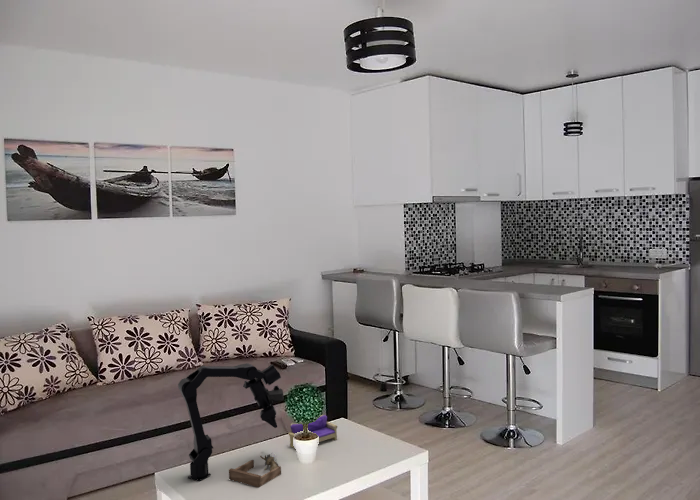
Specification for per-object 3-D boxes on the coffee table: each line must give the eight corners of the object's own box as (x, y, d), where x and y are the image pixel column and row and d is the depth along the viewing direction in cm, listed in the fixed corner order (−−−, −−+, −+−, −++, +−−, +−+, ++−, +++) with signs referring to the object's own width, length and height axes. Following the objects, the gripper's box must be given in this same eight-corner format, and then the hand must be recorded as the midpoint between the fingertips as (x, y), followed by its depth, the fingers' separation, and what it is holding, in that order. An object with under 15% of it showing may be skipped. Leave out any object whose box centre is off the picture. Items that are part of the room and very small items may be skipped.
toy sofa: (299, 452, 264) (298, 429, 264) (288, 447, 271) (287, 424, 271) (338, 440, 277) (337, 417, 277) (327, 435, 284) (326, 413, 283)
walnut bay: (258, 487, 231) (258, 477, 230) (229, 479, 239) (228, 469, 238) (281, 474, 242) (280, 464, 242) (252, 467, 250) (251, 457, 250)
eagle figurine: (255, 465, 249) (261, 468, 241) (262, 448, 251) (269, 451, 243) (271, 472, 251) (277, 476, 243) (278, 455, 254) (285, 458, 245)
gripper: (278, 391, 245) (295, 423, 248) (275, 374, 263) (290, 404, 266) (253, 404, 243) (270, 436, 247) (251, 386, 261) (267, 416, 265)
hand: (275, 422), depth 256 cm, fingers open, 9 cm apart
